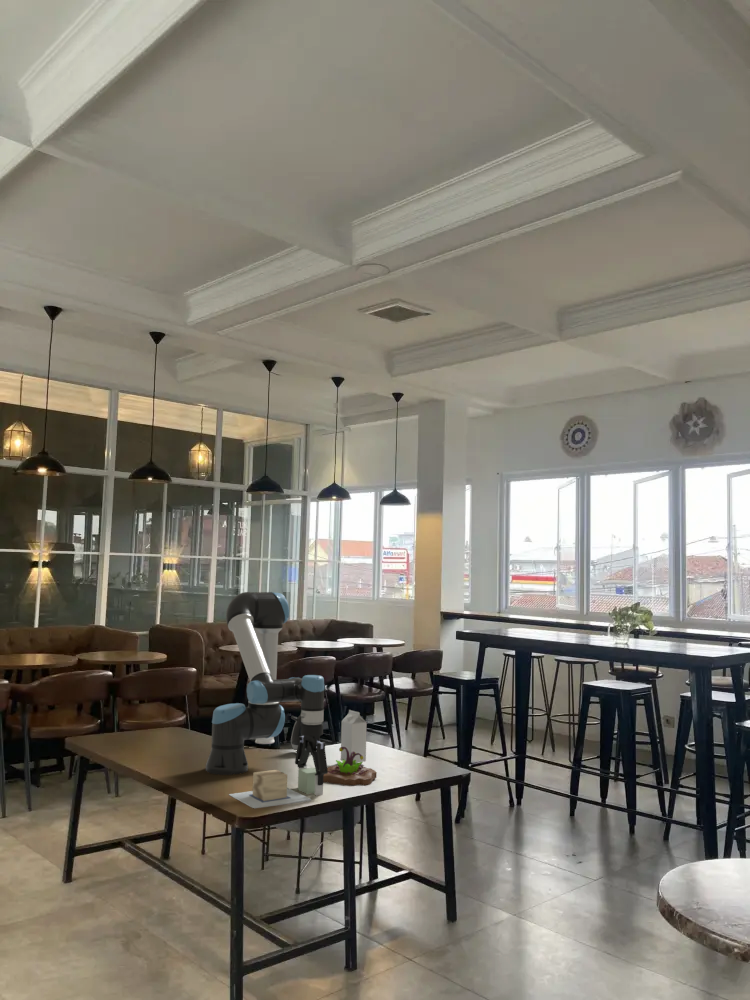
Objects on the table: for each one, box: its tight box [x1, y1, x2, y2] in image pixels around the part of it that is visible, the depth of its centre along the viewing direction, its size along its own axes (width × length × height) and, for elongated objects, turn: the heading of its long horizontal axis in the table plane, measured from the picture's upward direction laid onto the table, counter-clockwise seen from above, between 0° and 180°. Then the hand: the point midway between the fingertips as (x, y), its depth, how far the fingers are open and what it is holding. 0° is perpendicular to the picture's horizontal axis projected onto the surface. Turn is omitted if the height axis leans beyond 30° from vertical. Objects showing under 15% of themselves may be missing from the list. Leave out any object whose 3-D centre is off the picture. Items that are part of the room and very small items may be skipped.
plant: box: [323, 746, 377, 786], centre depth 288 cm, size 20×20×11 cm
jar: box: [254, 737, 275, 745], centre depth 347 cm, size 11×10×15 cm
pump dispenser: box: [290, 714, 303, 753], centre depth 329 cm, size 10×10×15 cm
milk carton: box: [340, 709, 368, 764], centre depth 315 cm, size 7×7×19 cm
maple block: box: [252, 769, 288, 801], centre depth 258 cm, size 8×8×7 cm
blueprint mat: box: [228, 787, 312, 809], centre depth 257 cm, size 18×20×1 cm
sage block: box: [297, 767, 316, 795], centre depth 268 cm, size 6×6×7 cm
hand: (310, 791), depth 268 cm, fingers open, 10 cm apart
